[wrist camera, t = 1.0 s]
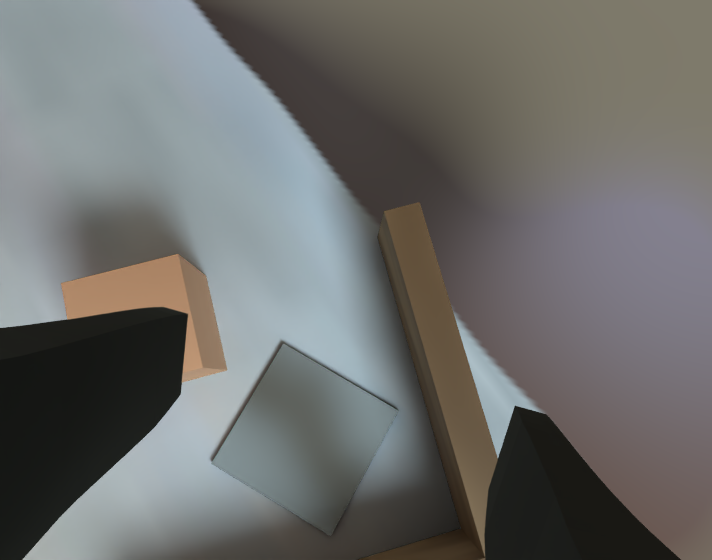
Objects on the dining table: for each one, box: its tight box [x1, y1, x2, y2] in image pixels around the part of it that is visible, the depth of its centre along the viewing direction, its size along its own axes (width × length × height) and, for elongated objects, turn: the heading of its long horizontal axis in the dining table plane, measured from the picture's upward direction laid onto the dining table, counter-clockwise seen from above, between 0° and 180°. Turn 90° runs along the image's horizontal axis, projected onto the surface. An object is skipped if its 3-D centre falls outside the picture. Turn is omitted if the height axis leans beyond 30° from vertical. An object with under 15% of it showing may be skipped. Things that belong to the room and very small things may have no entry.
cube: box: [61, 254, 227, 382], centre depth 23 cm, size 4×4×4 cm
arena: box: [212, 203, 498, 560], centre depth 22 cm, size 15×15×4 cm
